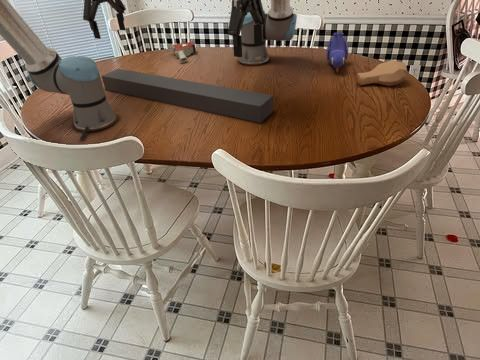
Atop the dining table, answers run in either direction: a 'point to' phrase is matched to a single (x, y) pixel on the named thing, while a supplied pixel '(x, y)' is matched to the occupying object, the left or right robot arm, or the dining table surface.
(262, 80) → the dining table surface
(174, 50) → the tape dispenser
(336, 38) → the toy
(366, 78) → the squash
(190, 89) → the slab
